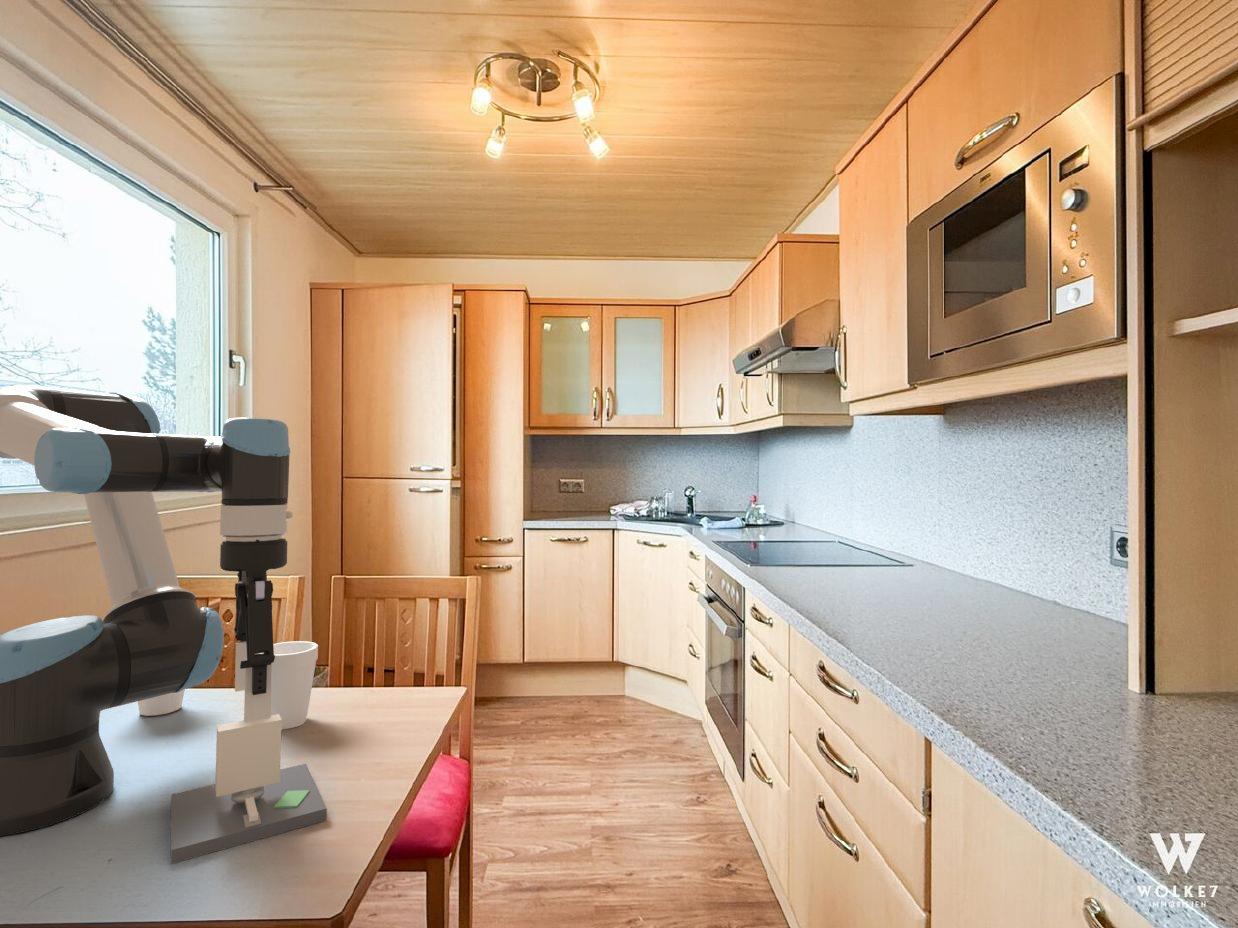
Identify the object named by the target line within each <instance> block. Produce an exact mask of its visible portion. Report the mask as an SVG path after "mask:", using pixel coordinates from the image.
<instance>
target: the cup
mask: <svg viewBox="0 0 1238 928" xmlns="http://www.w3.org/2000/svg"><path fill="white" fill-rule="evenodd" d="M185 690H186V689H183V690H182V691H180V692H178V693H169V694H165V695H161V696H157V697H153V698H149V699H145V700H141V701H137V706H138V712H139V715H142V716H146V717H148V716H160V715H166V714H169V713H173V712H175V711H179V709H181V708H182V705H183V700H184V695H185Z"/></svg>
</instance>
